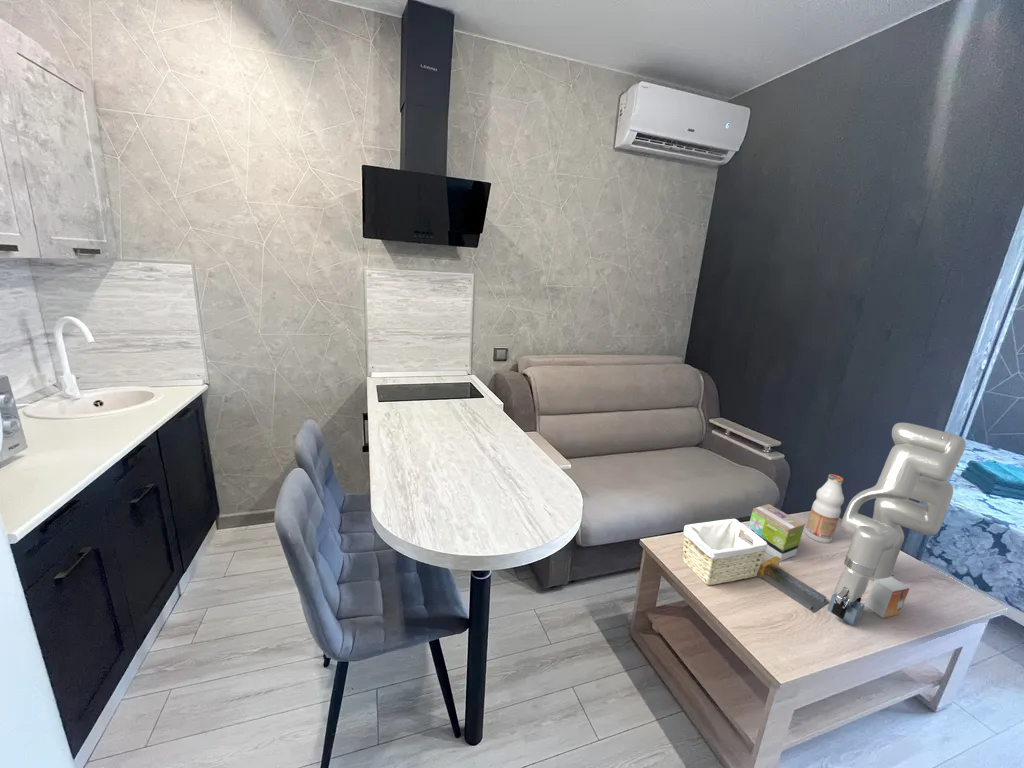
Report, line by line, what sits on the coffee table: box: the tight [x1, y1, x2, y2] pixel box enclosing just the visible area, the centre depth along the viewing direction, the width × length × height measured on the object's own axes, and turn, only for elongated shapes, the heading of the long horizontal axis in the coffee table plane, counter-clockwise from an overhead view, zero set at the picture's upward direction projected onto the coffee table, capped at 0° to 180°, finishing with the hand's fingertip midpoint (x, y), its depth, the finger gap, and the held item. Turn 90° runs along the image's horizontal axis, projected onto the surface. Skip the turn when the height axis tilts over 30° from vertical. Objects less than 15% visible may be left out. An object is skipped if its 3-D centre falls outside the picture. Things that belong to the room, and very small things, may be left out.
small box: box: [864, 577, 910, 619], centre depth 137 cm, size 8×6×10 cm
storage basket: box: [681, 518, 767, 586], centre depth 152 cm, size 24×16×15 cm
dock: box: [757, 556, 830, 613], centre depth 145 cm, size 10×18×5 cm, turn 30°
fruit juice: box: [804, 473, 845, 544], centre depth 173 cm, size 9×9×28 cm
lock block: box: [827, 593, 866, 627], centre depth 135 cm, size 5×7×6 cm
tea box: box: [745, 503, 806, 562], centre depth 165 cm, size 15×10×15 cm, turn 25°
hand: (844, 610), depth 135 cm, fingers open, 9 cm apart
